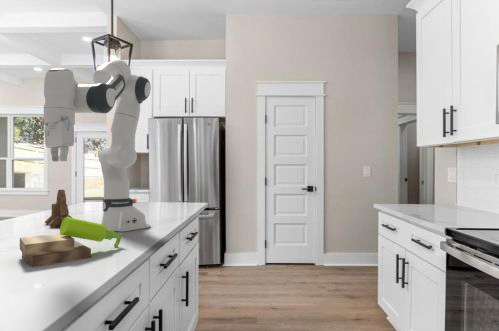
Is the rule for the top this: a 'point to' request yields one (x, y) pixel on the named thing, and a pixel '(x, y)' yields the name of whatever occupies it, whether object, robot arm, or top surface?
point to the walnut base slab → (60, 256)
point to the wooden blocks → (58, 210)
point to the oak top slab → (46, 244)
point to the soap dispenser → (88, 230)
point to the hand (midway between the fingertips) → (59, 161)
